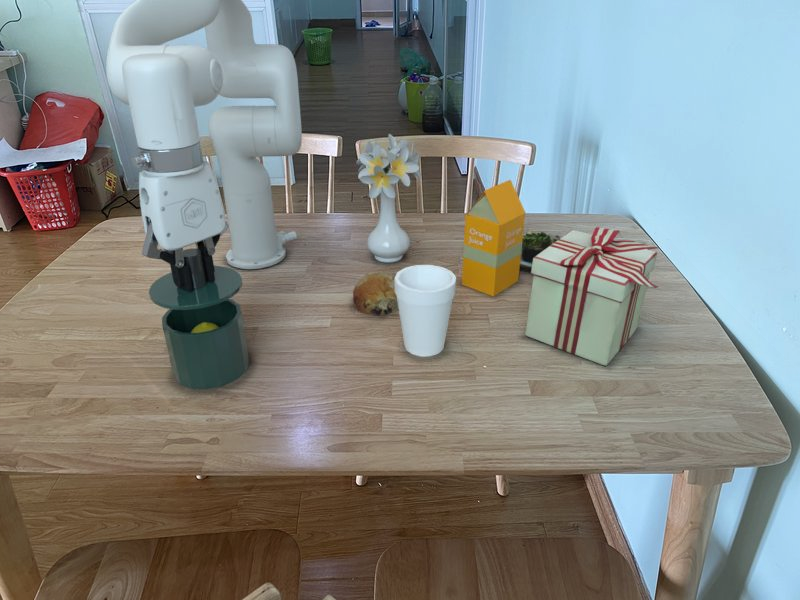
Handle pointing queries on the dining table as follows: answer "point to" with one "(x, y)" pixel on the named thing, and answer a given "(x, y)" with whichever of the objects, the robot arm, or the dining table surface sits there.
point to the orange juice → (493, 240)
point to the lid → (196, 286)
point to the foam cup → (424, 307)
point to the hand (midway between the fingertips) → (195, 282)
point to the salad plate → (534, 247)
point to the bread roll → (376, 294)
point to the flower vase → (387, 195)
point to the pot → (206, 345)
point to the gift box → (589, 293)
